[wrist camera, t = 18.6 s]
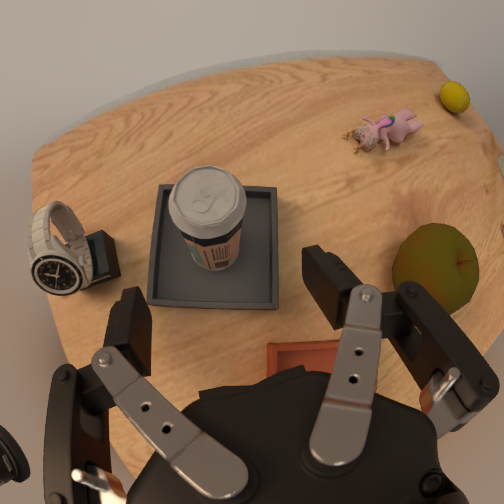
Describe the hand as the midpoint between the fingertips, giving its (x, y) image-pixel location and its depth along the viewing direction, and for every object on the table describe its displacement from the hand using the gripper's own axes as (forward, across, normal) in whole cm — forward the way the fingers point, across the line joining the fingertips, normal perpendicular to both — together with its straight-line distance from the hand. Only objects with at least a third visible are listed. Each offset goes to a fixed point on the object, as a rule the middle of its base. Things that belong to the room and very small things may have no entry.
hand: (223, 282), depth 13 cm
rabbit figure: (+22, -27, -2) cm, 35 cm away
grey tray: (+14, 0, +6) cm, 15 cm away
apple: (+8, -22, +12) cm, 26 cm away
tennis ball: (+28, -52, -8) cm, 60 cm away
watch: (+15, +13, +5) cm, 21 cm away
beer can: (+13, 0, +6) cm, 15 cm away
